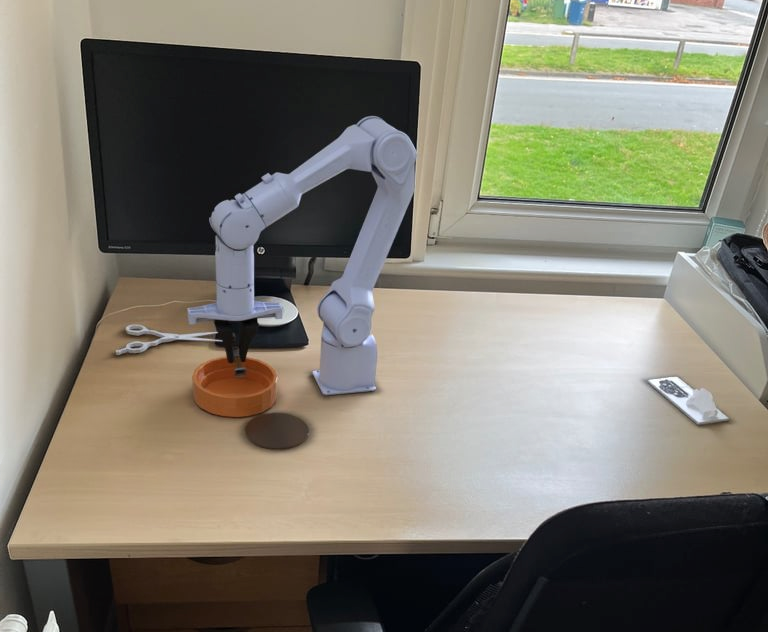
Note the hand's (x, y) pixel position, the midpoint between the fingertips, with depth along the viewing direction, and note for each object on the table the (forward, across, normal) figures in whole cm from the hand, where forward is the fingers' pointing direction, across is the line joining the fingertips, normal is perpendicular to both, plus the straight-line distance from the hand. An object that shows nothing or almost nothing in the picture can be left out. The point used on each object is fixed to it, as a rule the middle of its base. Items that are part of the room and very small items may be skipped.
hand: (236, 359), depth 133 cm
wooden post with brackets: (+1, 0, 0) cm, 1 cm away
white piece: (+8, -79, +15) cm, 81 cm away
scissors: (+7, +8, -22) cm, 24 cm away
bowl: (+7, 0, 0) cm, 7 cm away
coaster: (+7, -4, +11) cm, 14 cm away
